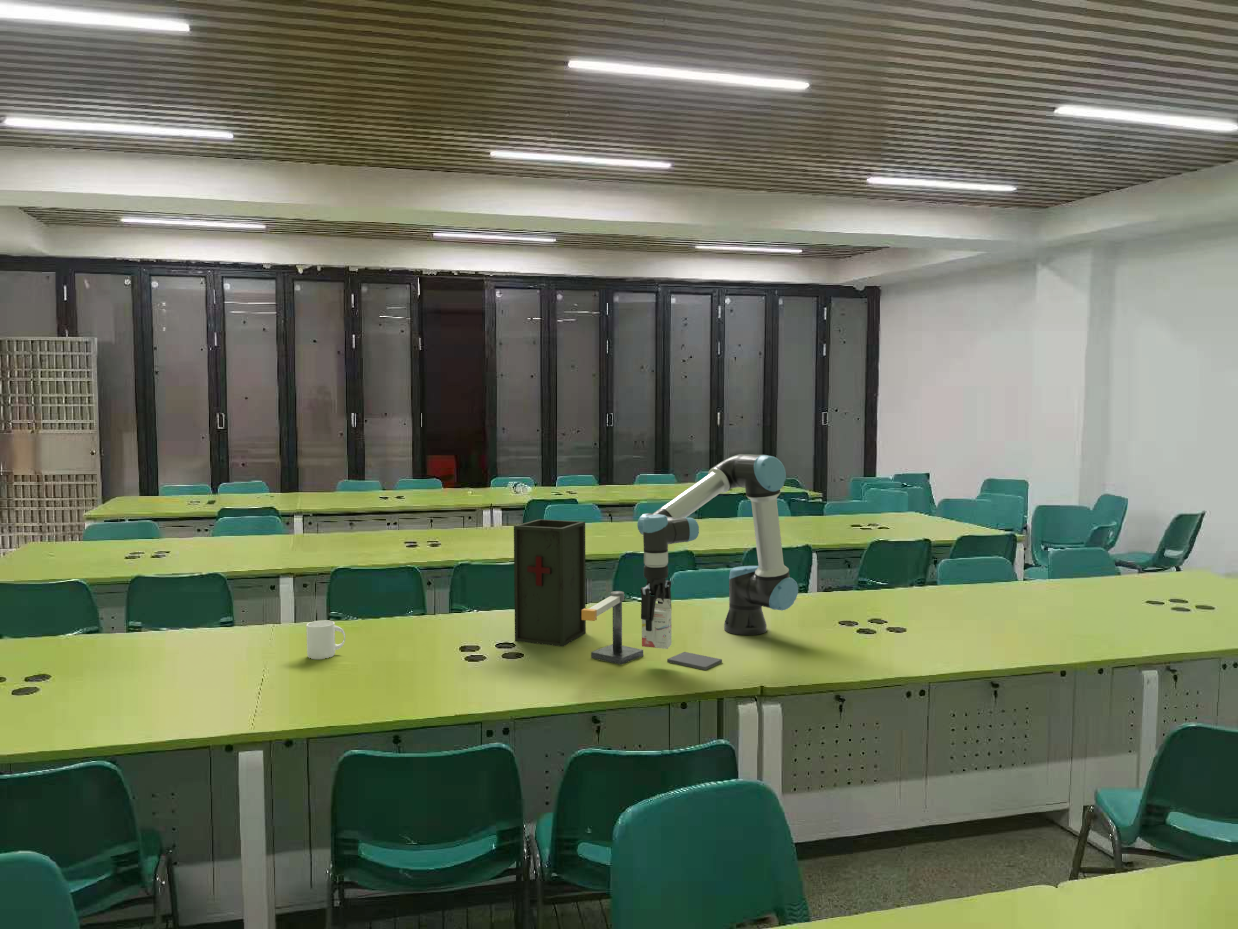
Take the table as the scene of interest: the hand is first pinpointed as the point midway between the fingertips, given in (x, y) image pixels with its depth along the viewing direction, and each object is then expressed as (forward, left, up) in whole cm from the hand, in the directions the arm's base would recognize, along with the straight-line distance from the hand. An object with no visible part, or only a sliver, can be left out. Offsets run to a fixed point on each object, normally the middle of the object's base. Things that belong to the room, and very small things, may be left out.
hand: (656, 638), depth 268 cm
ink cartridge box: (0, 0, -3) cm, 3 cm away
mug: (+55, -92, -9) cm, 108 cm away
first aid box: (-5, -48, -9) cm, 49 cm away
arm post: (0, -15, -9) cm, 17 cm away
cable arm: (+11, -12, +9) cm, 19 cm away
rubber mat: (-10, +8, -9) cm, 15 cm away
